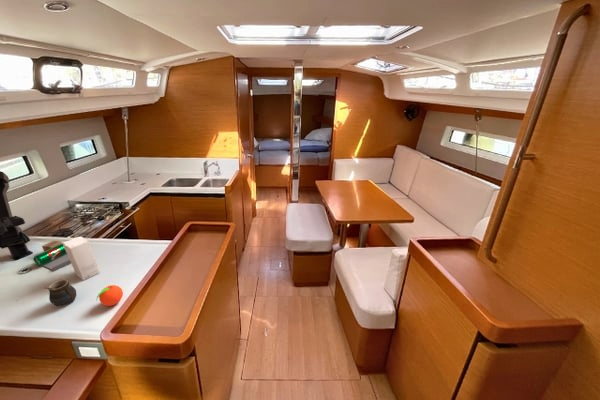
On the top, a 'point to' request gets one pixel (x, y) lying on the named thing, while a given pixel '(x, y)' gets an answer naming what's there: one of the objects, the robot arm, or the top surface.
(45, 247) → the walnut block
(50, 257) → the soda can
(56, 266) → the tray
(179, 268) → the top surface
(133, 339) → the top surface
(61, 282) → the mate gourd
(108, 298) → the clementine
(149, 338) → the top surface
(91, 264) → the skincare box
